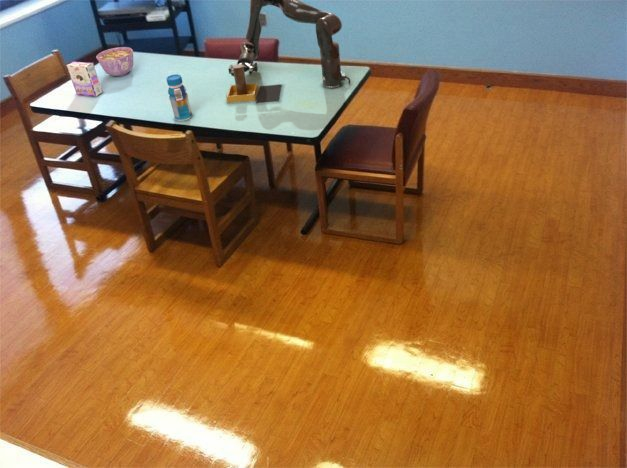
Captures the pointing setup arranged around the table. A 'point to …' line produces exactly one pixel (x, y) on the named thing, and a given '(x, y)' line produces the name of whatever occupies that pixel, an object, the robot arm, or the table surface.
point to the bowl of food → (116, 60)
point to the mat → (269, 93)
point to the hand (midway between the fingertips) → (241, 73)
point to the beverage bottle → (178, 98)
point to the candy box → (84, 78)
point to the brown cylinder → (240, 79)
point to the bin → (234, 97)
